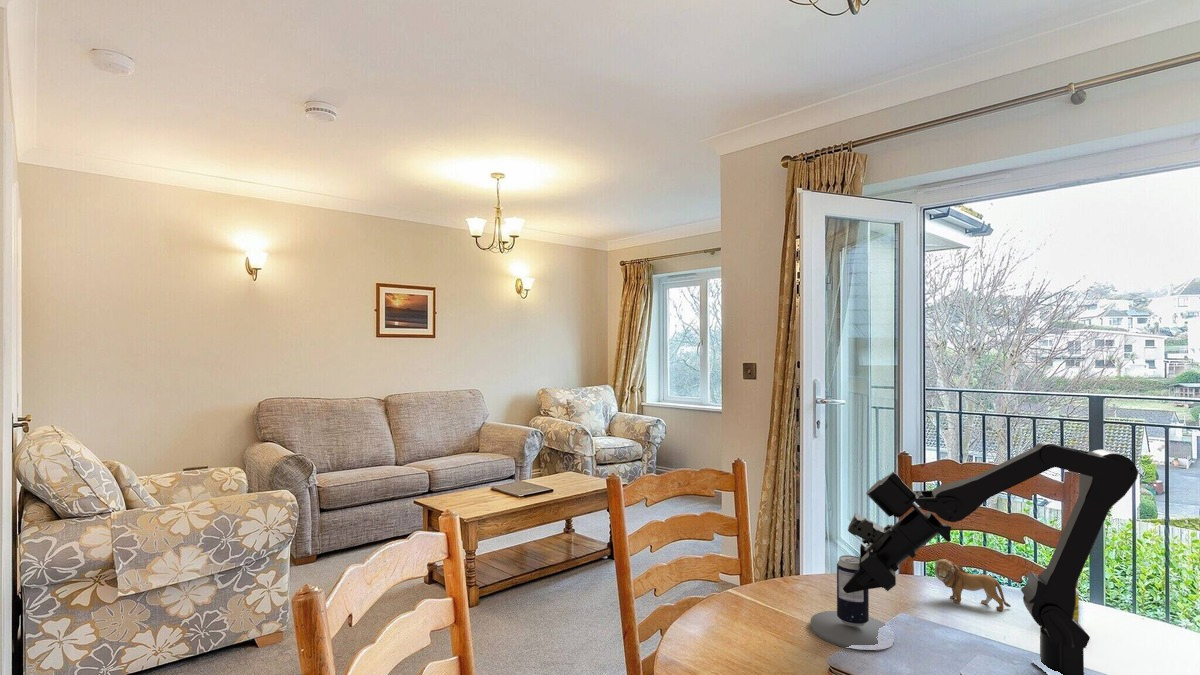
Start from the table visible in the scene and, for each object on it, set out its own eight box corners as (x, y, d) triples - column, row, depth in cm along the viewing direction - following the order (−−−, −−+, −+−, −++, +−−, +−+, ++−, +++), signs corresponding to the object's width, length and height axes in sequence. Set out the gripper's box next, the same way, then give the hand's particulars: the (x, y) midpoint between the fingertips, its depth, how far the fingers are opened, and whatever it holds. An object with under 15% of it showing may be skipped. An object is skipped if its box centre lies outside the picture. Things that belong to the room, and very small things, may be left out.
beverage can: (875, 626, 116) (874, 562, 116) (849, 629, 114) (849, 564, 115) (855, 614, 121) (855, 553, 122) (830, 617, 120) (830, 555, 120)
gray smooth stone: (907, 654, 109) (907, 647, 110) (821, 647, 111) (821, 641, 111) (878, 619, 124) (878, 613, 124) (803, 614, 126) (803, 608, 126)
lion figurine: (936, 602, 134) (936, 561, 135) (932, 594, 139) (932, 554, 140) (1014, 613, 129) (1014, 570, 130) (1006, 604, 134) (1006, 563, 135)
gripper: (874, 493, 126) (818, 540, 130) (874, 512, 109) (809, 566, 113) (917, 536, 122) (858, 583, 126) (924, 563, 105) (856, 616, 109)
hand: (845, 585), depth 119 cm, fingers closed on beverage can, 5 cm apart
